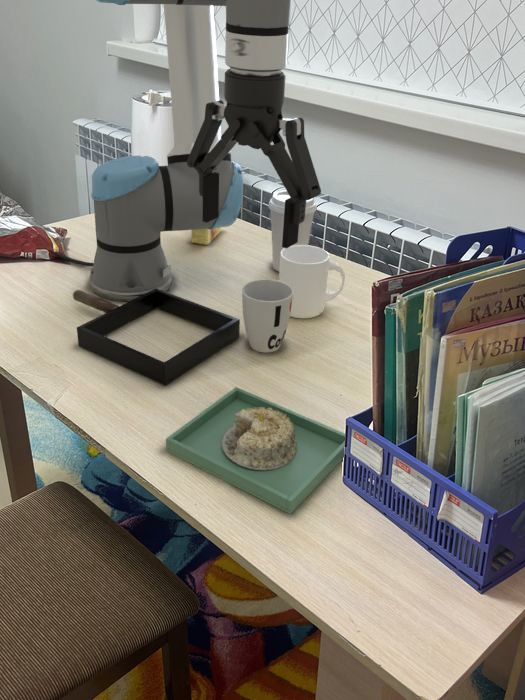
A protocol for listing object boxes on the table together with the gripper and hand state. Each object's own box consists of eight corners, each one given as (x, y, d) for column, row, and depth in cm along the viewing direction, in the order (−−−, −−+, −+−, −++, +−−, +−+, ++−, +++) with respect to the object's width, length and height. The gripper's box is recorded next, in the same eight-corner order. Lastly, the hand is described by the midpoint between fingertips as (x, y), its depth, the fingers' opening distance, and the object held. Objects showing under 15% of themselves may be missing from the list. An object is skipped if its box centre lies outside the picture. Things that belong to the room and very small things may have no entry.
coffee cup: (320, 265, 143) (326, 195, 136) (297, 281, 136) (302, 207, 129) (280, 254, 147) (284, 185, 140) (256, 268, 140) (259, 197, 133)
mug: (347, 318, 124) (354, 263, 118) (281, 320, 122) (285, 264, 116) (336, 296, 131) (341, 243, 125) (273, 298, 129) (276, 245, 124)
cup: (273, 362, 110) (276, 306, 104) (230, 347, 113) (231, 292, 108) (298, 341, 116) (302, 287, 110) (257, 328, 119) (259, 275, 114)
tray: (166, 450, 90) (165, 438, 89) (235, 398, 101) (236, 386, 100) (290, 514, 81) (291, 501, 80) (352, 449, 92) (353, 437, 91)
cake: (288, 424, 96) (294, 392, 93) (303, 472, 88) (310, 439, 85) (217, 423, 94) (221, 391, 91) (226, 473, 86) (230, 439, 83)
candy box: (204, 229, 158) (204, 162, 150) (222, 231, 157) (222, 164, 150) (190, 243, 151) (189, 173, 143) (209, 245, 150) (209, 176, 142)
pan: (34, 326, 117) (31, 307, 115) (113, 289, 130) (112, 272, 128) (165, 386, 103) (164, 366, 101) (239, 337, 116) (240, 319, 114)
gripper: (158, 58, 88) (163, 216, 99) (327, 90, 76) (311, 265, 88) (196, 52, 93) (196, 203, 105) (359, 81, 82) (340, 247, 93)
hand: (248, 231), depth 96 cm, fingers open, 13 cm apart
